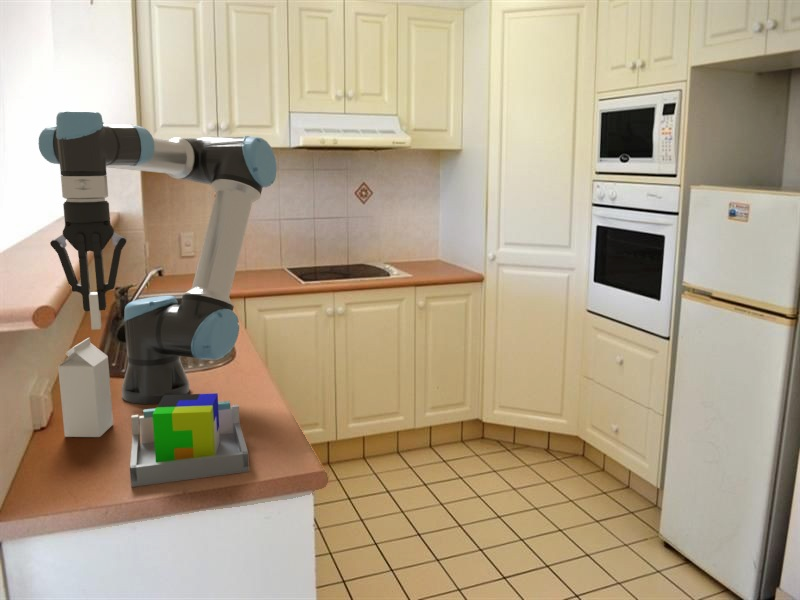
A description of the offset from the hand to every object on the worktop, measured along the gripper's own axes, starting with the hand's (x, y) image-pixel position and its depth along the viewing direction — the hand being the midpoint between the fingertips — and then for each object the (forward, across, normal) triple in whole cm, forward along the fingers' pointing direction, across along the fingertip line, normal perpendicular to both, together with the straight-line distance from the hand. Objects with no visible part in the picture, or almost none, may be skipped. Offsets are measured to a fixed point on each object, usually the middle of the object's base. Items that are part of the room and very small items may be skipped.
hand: (96, 327), depth 132 cm
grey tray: (+24, +15, -10) cm, 30 cm away
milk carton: (+25, -4, +11) cm, 27 cm away
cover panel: (+24, +15, 0) cm, 29 cm away
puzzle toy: (+24, +15, -9) cm, 29 cm away
